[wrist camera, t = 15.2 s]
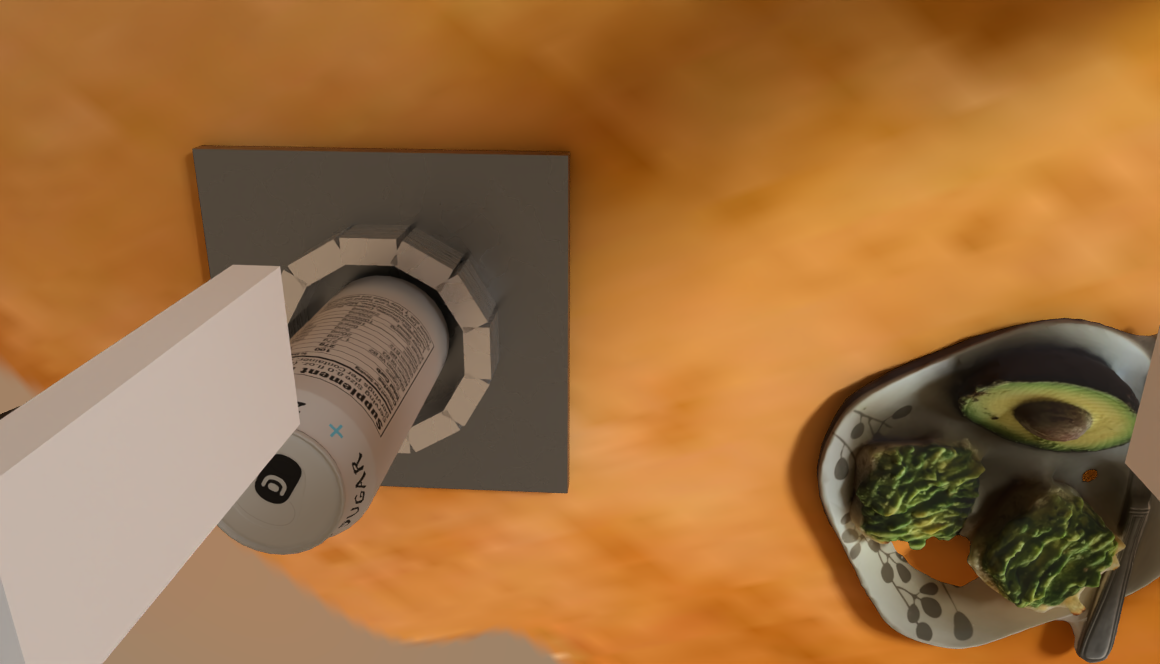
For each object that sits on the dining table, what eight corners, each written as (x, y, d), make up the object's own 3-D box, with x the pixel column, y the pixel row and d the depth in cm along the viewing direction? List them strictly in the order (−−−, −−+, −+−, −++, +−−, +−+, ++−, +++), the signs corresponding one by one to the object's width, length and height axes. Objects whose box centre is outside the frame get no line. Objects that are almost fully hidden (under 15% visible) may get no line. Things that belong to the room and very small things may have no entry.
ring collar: (202, 145, 42) (165, 158, 39) (570, 151, 41) (563, 165, 38) (247, 470, 48) (218, 505, 45) (568, 483, 47) (563, 520, 44)
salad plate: (1241, 589, 47) (1302, 649, 43) (905, 693, 51) (929, 758, 46) (1150, 260, 41) (1209, 291, 37) (778, 404, 45) (793, 448, 41)
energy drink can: (308, 348, 44) (152, 515, 30) (361, 245, 42) (220, 373, 28) (418, 408, 45) (315, 599, 31) (475, 310, 43) (393, 466, 29)
